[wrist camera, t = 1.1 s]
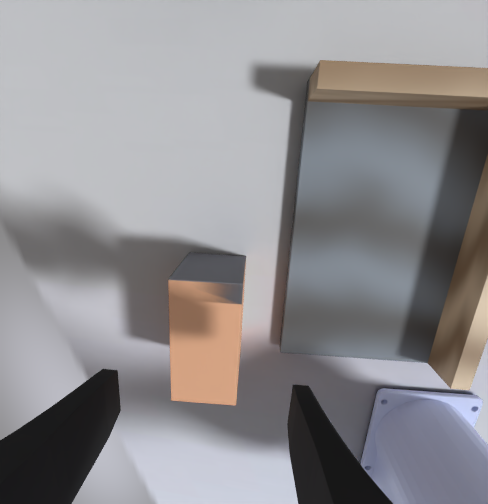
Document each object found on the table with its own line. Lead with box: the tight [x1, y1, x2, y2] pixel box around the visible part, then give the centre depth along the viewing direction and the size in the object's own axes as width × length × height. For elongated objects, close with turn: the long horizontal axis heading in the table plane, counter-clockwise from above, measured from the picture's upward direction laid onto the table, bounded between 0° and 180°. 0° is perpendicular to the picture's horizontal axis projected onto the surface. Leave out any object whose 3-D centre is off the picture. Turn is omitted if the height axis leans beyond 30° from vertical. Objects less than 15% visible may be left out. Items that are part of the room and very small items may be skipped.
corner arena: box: [280, 60, 488, 390], centre depth 17 cm, size 18×12×3 cm, turn 177°
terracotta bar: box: [168, 253, 246, 405], centre depth 18 cm, size 8×4×5 cm, turn 177°
